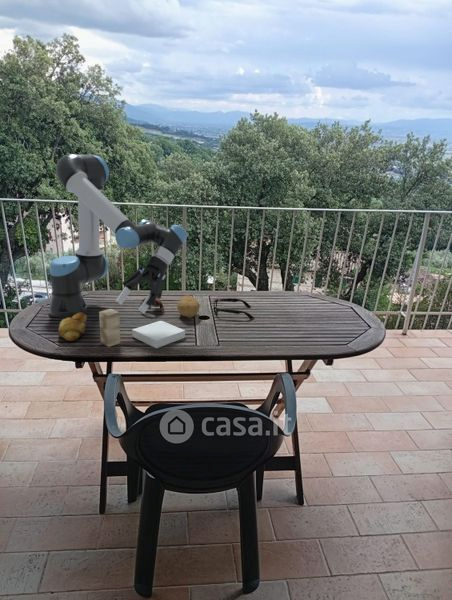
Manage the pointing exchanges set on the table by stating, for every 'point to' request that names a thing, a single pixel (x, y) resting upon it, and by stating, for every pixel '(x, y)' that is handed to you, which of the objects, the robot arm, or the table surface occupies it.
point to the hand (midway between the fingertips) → (129, 307)
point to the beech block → (109, 327)
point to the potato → (188, 306)
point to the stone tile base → (158, 334)
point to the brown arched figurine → (155, 304)
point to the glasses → (232, 310)
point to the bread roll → (73, 327)
